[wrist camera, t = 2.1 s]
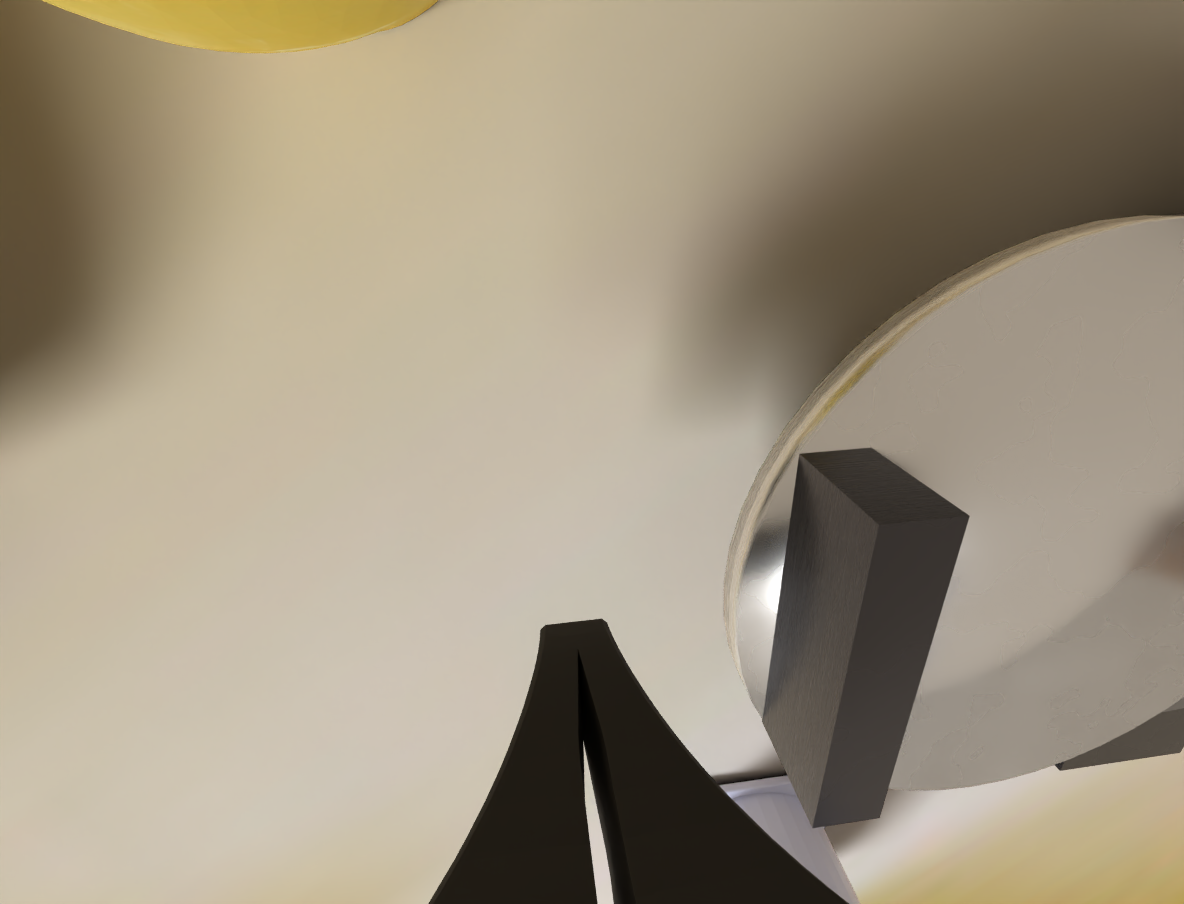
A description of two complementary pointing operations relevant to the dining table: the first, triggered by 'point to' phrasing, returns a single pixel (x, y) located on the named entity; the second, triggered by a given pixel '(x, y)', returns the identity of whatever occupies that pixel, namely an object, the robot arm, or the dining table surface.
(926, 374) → the cooker lid
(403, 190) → the dining table surface
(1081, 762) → the cooker pot
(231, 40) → the plant pot
